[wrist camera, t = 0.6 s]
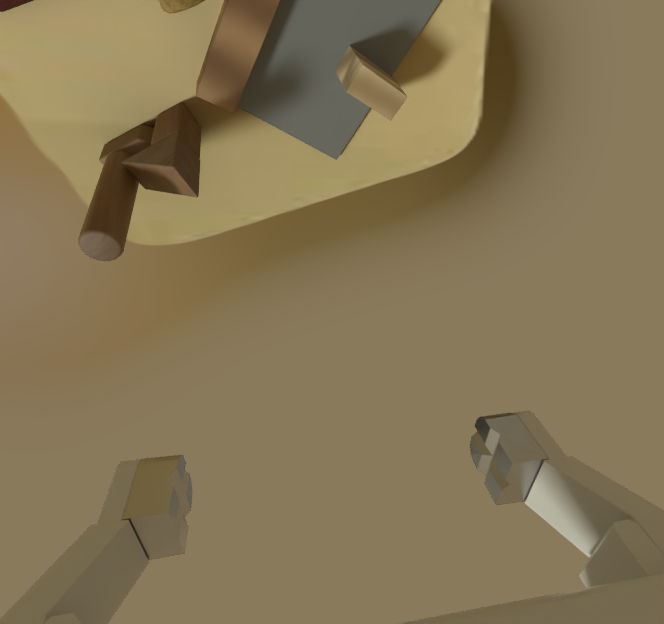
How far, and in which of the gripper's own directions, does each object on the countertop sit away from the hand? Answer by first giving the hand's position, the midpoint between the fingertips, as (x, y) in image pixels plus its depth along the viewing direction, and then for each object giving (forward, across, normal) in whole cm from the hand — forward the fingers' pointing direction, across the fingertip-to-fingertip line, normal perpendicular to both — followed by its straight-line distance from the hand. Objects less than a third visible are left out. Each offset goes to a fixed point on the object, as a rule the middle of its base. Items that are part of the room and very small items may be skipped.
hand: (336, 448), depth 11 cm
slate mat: (+44, -7, -9) cm, 46 cm away
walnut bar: (+43, +1, -14) cm, 45 cm away
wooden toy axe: (+46, +14, 0) cm, 48 cm away
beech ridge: (+44, -10, -7) cm, 46 cm away
